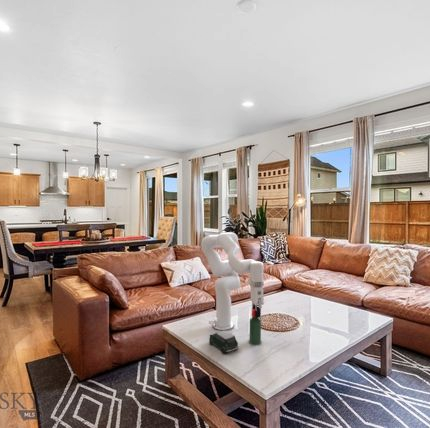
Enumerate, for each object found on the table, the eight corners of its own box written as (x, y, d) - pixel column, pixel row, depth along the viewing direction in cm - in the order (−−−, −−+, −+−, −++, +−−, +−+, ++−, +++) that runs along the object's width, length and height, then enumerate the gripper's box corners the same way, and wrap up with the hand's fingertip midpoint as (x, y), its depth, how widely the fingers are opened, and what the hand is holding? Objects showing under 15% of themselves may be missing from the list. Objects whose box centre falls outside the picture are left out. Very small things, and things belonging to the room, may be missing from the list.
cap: (257, 314, 170) (257, 308, 170) (260, 317, 166) (260, 310, 166) (250, 315, 169) (250, 308, 169) (253, 317, 165) (253, 311, 165)
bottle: (251, 345, 165) (251, 313, 164) (248, 339, 171) (248, 309, 170) (262, 343, 167) (262, 312, 166) (258, 338, 173) (258, 308, 172)
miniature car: (220, 338, 173) (220, 324, 173) (240, 350, 159) (240, 335, 159) (207, 342, 167) (207, 328, 167) (226, 355, 153) (226, 340, 153)
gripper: (268, 287, 160) (267, 320, 161) (257, 279, 176) (257, 309, 177) (255, 288, 158) (254, 322, 159) (245, 280, 174) (245, 310, 175)
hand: (256, 315), depth 168 cm, fingers closed on cap, 4 cm apart
